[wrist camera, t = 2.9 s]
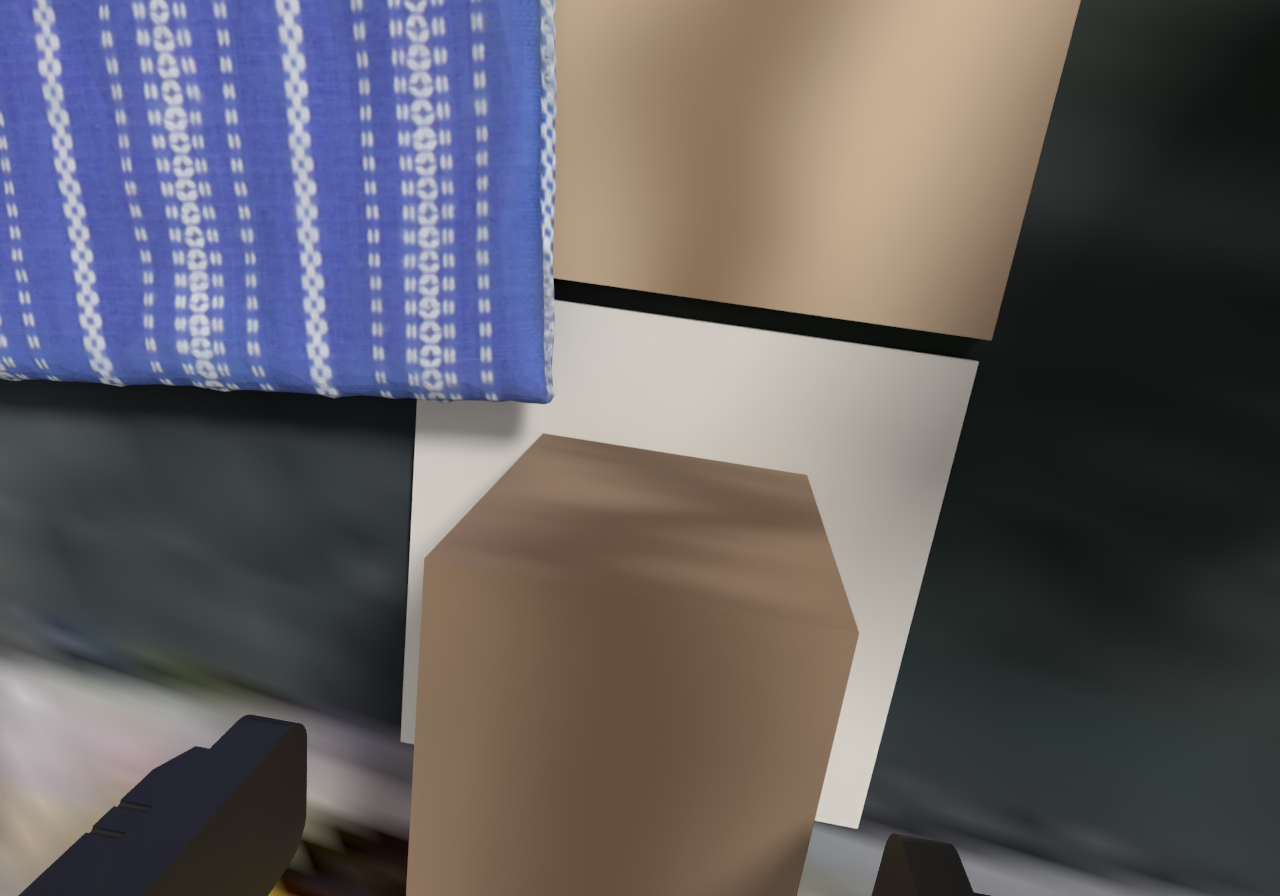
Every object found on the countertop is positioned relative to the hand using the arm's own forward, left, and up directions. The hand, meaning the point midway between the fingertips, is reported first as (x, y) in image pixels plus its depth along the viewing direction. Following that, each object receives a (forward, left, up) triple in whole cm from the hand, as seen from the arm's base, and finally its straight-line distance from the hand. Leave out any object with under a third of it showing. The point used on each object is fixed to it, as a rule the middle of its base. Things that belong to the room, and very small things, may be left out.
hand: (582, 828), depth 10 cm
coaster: (-1, -12, -8) cm, 15 cm away
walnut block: (0, 0, -8) cm, 8 cm away
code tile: (0, 0, -8) cm, 8 cm away
